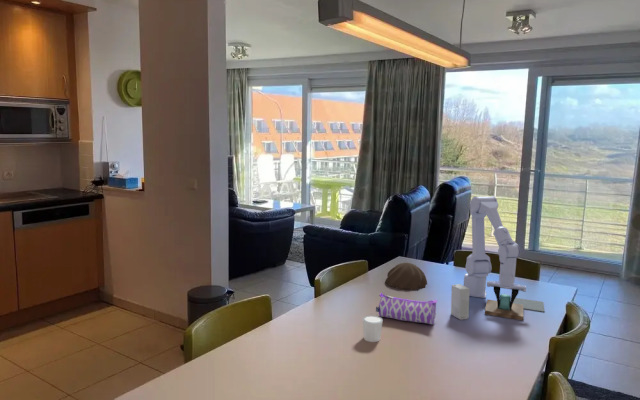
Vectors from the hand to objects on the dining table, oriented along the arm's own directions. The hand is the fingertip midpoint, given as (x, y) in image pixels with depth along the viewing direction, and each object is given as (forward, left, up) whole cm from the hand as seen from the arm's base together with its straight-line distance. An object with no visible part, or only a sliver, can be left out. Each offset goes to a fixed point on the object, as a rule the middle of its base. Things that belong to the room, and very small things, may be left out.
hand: (504, 305), depth 190 cm
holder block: (0, 0, -2) cm, 2 cm away
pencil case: (-34, -26, -3) cm, 43 cm away
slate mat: (+9, +12, -2) cm, 15 cm away
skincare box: (-16, -14, -2) cm, 21 cm away
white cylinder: (-41, -48, -2) cm, 63 cm away
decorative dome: (-44, +18, -3) cm, 48 cm away
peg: (0, 0, -2) cm, 2 cm away
